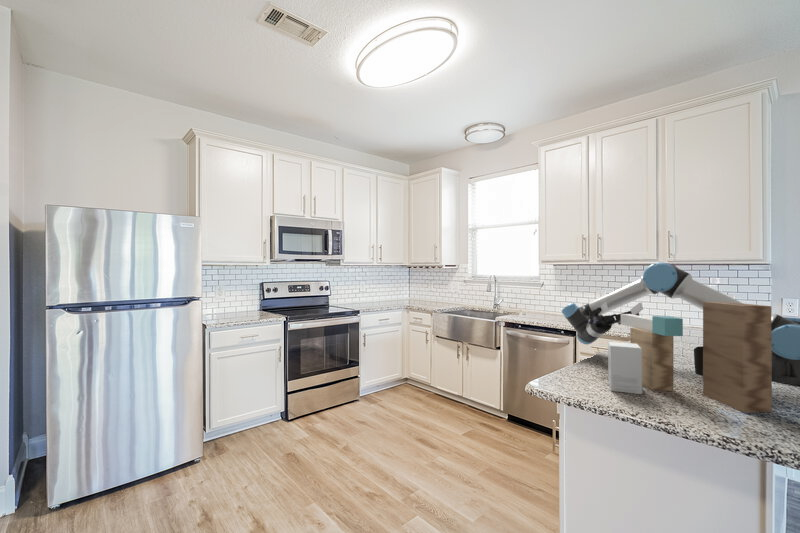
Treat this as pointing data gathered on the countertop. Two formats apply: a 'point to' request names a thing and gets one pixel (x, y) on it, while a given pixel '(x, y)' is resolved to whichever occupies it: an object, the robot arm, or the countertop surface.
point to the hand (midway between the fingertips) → (623, 305)
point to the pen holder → (698, 360)
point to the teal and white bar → (655, 324)
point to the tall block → (738, 355)
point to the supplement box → (625, 367)
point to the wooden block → (655, 359)
